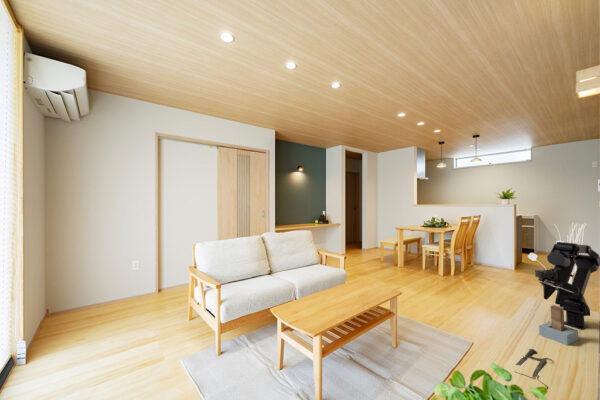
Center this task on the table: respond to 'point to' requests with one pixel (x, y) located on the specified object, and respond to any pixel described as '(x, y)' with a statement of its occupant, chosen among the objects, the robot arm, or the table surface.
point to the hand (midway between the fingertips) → (550, 301)
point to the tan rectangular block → (557, 318)
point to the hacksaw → (538, 368)
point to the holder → (558, 334)
